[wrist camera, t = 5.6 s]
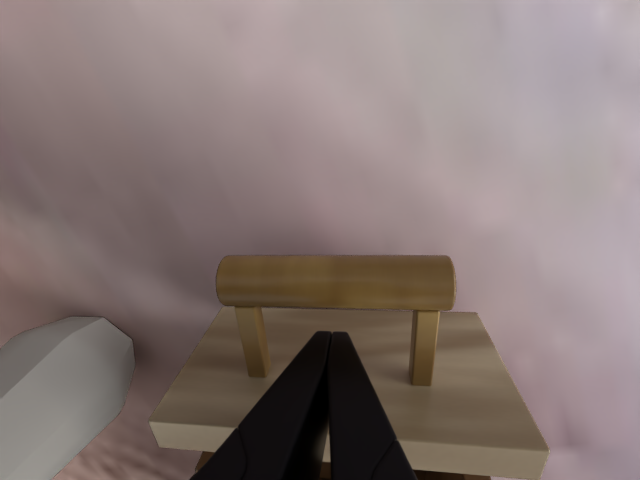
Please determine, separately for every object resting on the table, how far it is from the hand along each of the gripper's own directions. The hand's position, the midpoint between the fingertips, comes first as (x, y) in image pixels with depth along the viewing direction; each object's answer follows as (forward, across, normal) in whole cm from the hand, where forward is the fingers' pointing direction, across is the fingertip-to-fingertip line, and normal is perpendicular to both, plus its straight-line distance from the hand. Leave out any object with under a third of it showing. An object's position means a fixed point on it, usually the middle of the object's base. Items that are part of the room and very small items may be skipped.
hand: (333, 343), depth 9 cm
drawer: (+4, 0, +5) cm, 6 cm away
